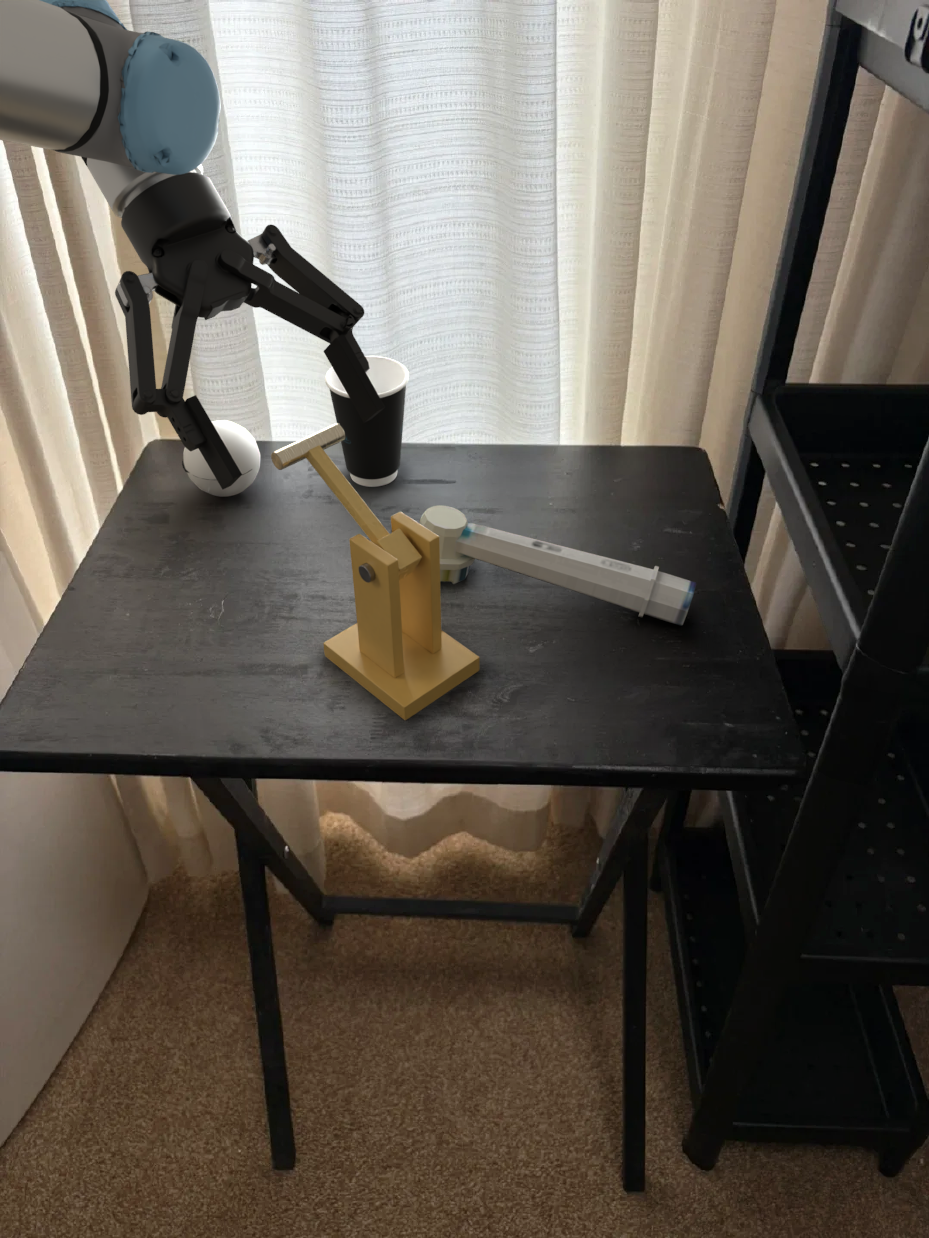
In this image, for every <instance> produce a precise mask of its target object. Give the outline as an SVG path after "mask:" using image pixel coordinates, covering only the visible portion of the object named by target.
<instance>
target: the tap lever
mask: <svg viewBox="0 0 929 1238" xmlns="http://www.w3.org/2000/svg"><path fill="white" fill-rule="evenodd" d="M344 439H345V432H344V430H343V428H342V427H341V426H340V425H339V424H337V422H336V423H333V424H330V425H329V426H326V427H324V428H322V429H320V430H318V431H316V432H313V433H312V434H309V435H307V436H305V437H303V438H300V439H298V440H296V441H294V442H292V443H290V444H288V445H284V446H283V447H280V448H278V449H276V450H274V451H273V452H271V454H270V459H271V462H272V464H273V466H274V467H275V468H276V469H277V470H279V471H282V470H285V469H286V468H289V467H291V466H293V465H295V464H296V463H299V462H302V461H303V460H305V459H306V460H307V461H308V462H309V464H310V465H311V466H312V468H313V469H314V470H315V471H316V473H317V474H318V476H320V478H321V479H322V480H323V482H324V483H325V484H326V485H327V487H328V488H329V489H330V490H331V492H332V493H333V495H334V496H335V497H336V499H338V501H339V502H340V503H341V504H342V506H343V507H344V508H345V510H346V511H347V513H348V514H349V515H350V516H351V518H352V519H353V520H354V521H355V523H356V524H357V525H358V526H359V527H360V529H361V530H362V532H363V533H364V534H365V535H366V537H367V539H368V540H370V541H371V542H372V543H374V544H375V545H377V546H378V547H380V548H381V549H383V550H384V551H386V552H387V553H389V554H390V555H392V556H393V557H394V558H396V559H397V560H398V568H399V580H401V579H402V578H404V577H406V576H408V575H409V574H411V573H413V571H414V570H415V568H416V566H417V565H418V563H419V561H420V560H421V558H422V556H421V555H420V554H419V552H418V551H417V550H416V549H415V547H414V546H413V545H412V544H411V542H410V541H409V540H408V539H407V537H406V536H405V535H404V533H403V532H402V531H401V530H400V529H398V530H396V531H394V532H392V531H391V533H389V531H388V530H387V529H386V527H385V526H384V525H383V524H382V522H381V521H380V520H379V518H378V517H377V516H376V515H375V514H374V513H373V511H372V510H371V509H370V507H369V506H368V505H367V503H366V502H365V501H364V499H363V498H362V497H361V496H360V494H359V493H358V492H357V491H356V489H355V488H354V487H353V485H352V484H351V483H350V482H349V480H348V479H347V478H346V477H345V475H344V474H343V472H342V471H341V470H340V469H339V468H338V467H337V465H336V464H335V463H334V461H333V460H332V459H331V458H330V455H328V454H327V453H326V451H325V450H326V449H329V448H331V447H333V446H335V445H337V444H339V443H341V441H343V440H344Z"/></svg>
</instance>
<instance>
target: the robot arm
mask: <svg viewBox="0 0 929 1238" xmlns="http://www.w3.org/2000/svg"><path fill="white" fill-rule="evenodd" d="M221 112H222V104H221V94H220V89H219V86H218V82H217V78H216V76H215V73H214V71H213V69H212V67H211V65H210V64H209V62H208V60H207V59H206V58H205V57H204V55H203V54H202V53H201V52H199V51H198V49H197V48H195V47H194V46H192V45H191V44H189V43H187V42H185V41H181V40H178V39H173V38H170V37H169V38H168V37H164V36H163V35H161V34H159V33H157V32H155V31H144V32H138V31H134V30H129V29H127V27H126V26H125V25H124V23H122V21H121V20H120V19H119V17H118V15H117V14H116V12H115V11H114V9H113V8H112V7H111V5H110V4H109V2H108V1H107V0H0V141H4V142H8V143H14V144H19V145H24V146H30V147H34V148H40V149H44V150H45V149H46V150H49V151H54V152H57V153H61V154H65V155H71V156H75V157H80V158H81V159H82V161H83V163H84V164H85V166H86V168H87V169H88V171H89V173H90V174H91V176H92V178H93V180H94V182H95V183H96V185H97V186H98V188H99V190H100V191H101V194H102V195H103V197H104V199H105V200H106V202H107V204H108V206H109V207H110V209H111V211H112V212H113V215H114V216H115V217H117V218H119V219H121V221H120V224H121V225H120V226H121V228H122V230H123V231H124V233H125V235H126V237H127V238H128V240H129V242H130V244H131V245H132V247H133V249H134V250H135V252H136V255H138V256H137V257H139V259H140V261H141V263H143V264H144V265H145V267H146V269H147V270H148V271H147V272H148V273H143V274H139V275H138V274H137V273H135V272H134V271H132V270H126V271H124V272H123V273H122V275H121V276H120V279H119V281H118V283H117V286H116V288H115V291H114V295H115V298H116V300H117V302H118V305H119V307H120V310H121V311H122V313H123V315H124V318H125V319H124V320H125V333H126V346H127V360H128V375H129V387H130V399H131V408H132V410H133V412H134V413H135V414H137V415H138V416H139V415H140V416H142V415H146V414H148V413H156V414H157V415H158V416H159V417H161V418H165V419H166V418H167V420H168V421H169V422H170V425H171V426H172V428H173V430H174V431H175V433H176V435H177V437H178V438H179V439H180V441H181V444H182V445H183V446H184V448H185V447H186V448H187V449H188V450H189V451H190V452H191V451H193V450H195V449H199V450H200V452H201V454H202V455H203V457H204V459H205V460H206V462H207V464H208V466H209V467H210V469H211V471H212V472H213V474H214V476H215V478H216V479H217V481H218V483H219V484H220V486H221V488H222V490H223V489H225V488H227V487H230V486H231V485H232V484H233V483H234V482H235V481H236V480H237V479H238V478H239V477H240V476H241V475H242V473H241V472H240V470H239V468H238V466H237V465H236V463H235V461H234V460H233V458H232V456H231V454H230V453H229V451H228V449H227V448H226V446H225V444H224V442H223V441H222V439H221V437H220V436H219V434H218V432H217V430H216V429H215V427H214V425H213V424H212V422H211V421H212V420H211V418H210V417H209V414H208V413H207V412H206V410H205V408H204V406H203V405H202V403H201V401H200V400H199V398H198V396H197V394H195V395H193V396H190V397H188V398H186V400H185V399H184V395H185V394H184V393H185V388H186V383H187V377H188V372H189V367H190V366H189V364H190V360H191V354H192V350H193V349H192V348H193V344H194V343H193V342H194V340H195V339H194V338H195V332H196V327H197V321H198V318H204V320H205V321H207V320H210V319H212V318H213V319H214V318H215V317H216V316H217V315H218V314H221V312H231V311H235V310H236V309H239V308H241V306H242V305H243V304H246V305H248V306H250V307H252V308H255V309H256V308H259V309H263V310H265V311H267V312H269V313H271V314H272V315H275V316H276V317H278V318H280V319H282V320H284V321H286V322H288V323H289V324H292V325H294V326H296V327H297V328H300V329H301V330H303V331H305V332H307V333H309V334H311V335H312V336H314V337H317V338H318V339H320V340H322V341H324V342H327V343H328V344H329V345H327V346H326V348H325V349H324V350H323V353H324V355H325V356H326V359H327V360H328V362H329V364H330V366H331V367H333V369H334V371H335V373H336V374H337V376H338V378H339V380H340V381H341V383H342V385H343V387H344V388H345V390H346V392H347V394H348V395H349V397H350V399H351V401H352V402H353V404H354V406H355V408H356V410H357V411H358V413H359V415H360V417H361V418H362V420H363V422H366V421H369V420H371V419H372V418H373V417H374V416H376V415H377V414H378V413H379V412H380V411H381V410H383V409H384V408H385V406H384V404H383V403H382V401H381V399H380V397H379V395H378V394H377V392H376V390H375V388H374V387H373V385H372V383H371V381H370V379H369V378H368V376H367V374H366V372H367V371H368V370H369V369H370V368H369V363H368V361H367V359H366V357H365V356H366V355H365V353H364V352H363V351H362V348H361V345H359V343H358V341H357V339H356V338H355V336H354V333H353V329H354V327H355V326H356V324H358V322H359V321H361V319H362V318H363V317H364V316H365V309H364V307H363V306H362V304H360V302H359V303H358V301H356V300H355V299H354V298H353V297H351V296H350V295H349V294H348V293H347V292H345V291H344V290H343V289H342V288H341V287H339V286H338V285H337V284H336V283H335V282H334V281H332V280H331V279H330V278H329V277H327V276H326V275H325V274H324V273H323V272H322V271H320V270H319V269H318V268H317V267H315V266H314V264H312V263H311V262H310V261H308V259H306V258H305V257H304V256H302V255H301V254H300V253H298V251H297V250H296V249H294V248H293V247H292V246H291V245H290V243H289V242H288V240H287V239H286V238H285V236H284V235H283V233H282V231H280V229H279V227H277V226H276V225H274V224H268V225H266V226H265V228H264V229H263V231H262V232H261V233H260V234H258V235H256V236H254V237H252V238H250V239H248V240H247V239H246V238H244V237H243V236H242V235H241V234H240V233H239V232H238V231H237V229H236V226H235V224H234V221H233V218H232V215H231V213H230V211H229V210H228V208H227V206H226V204H225V202H224V201H223V199H222V197H221V195H220V194H219V192H218V190H217V189H216V187H215V185H214V183H213V181H212V180H211V178H210V177H209V176H207V175H205V174H203V173H204V167H203V165H202V164H203V163H204V161H206V160H207V158H208V157H209V155H210V154H211V152H212V150H213V149H214V146H215V144H216V141H217V138H218V136H219V131H220V130H219V123H220V115H221ZM255 259H256V260H258V262H259V264H260V265H262V266H266V265H267V267H268V268H269V269H270V270H271V271H272V273H274V274H275V275H276V276H277V277H279V278H280V279H281V280H282V281H283V282H285V283H286V284H287V285H288V286H289V287H288V286H286V285H284V284H283V283H281V282H279V281H277V280H276V278H275V276H274V275H273V274H272V273H271V272H268V271H266V270H265V269H263V268H261V267H259V266H257V265H255V264H254V260H255ZM252 284H253V285H254V286H256V287H253V286H252ZM153 292H155V293H156V294H157V295H158V296H159V297H162V298H163V299H165V300H167V301H169V302H170V303H172V304H174V311H173V316H172V323H171V334H170V338H169V343H168V350H167V354H166V360H165V365H164V371H163V377H162V382H161V387H160V388H157V381H156V371H155V370H156V369H155V368H156V367H155V355H154V344H153V343H154V342H153V330H152V318H151V308H150V304H151V302H152V300H153V298H154V295H153V294H154V293H153Z"/></svg>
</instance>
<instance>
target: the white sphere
mask: <svg viewBox="0 0 929 1238" xmlns="http://www.w3.org/2000/svg"><path fill="white" fill-rule="evenodd" d="M211 422H212V424H213V425H214V427H215V429H216V430H217V432H218V434H219V436H220V437H221V439H222V441H223V442H224V444H225V446H226V448H227V449H228V451H229V453H230V454H231V456H232V458H233V460H234V461H235V463H236V465H237V466H238V468H239V470H240V472H241V473H242V475H241V476H240V477H239V478H238V479H237V480H236V481H235V482H234V483H233V484H232V485H231V486H230V487H227V488H225V489H223V490H222V488H221V486H220V484H219V483H218V481H217V479H216V478H215V476H214V474H213V472H212V471H211V469H210V467H209V466H208V464H207V462H206V460H205V459H204V457H203V455H202V454H201V452H200V450H199V449H195V450H193V451H191V452H190V451H189V450H188V449H187V448H186V447H185V446H184V449H183V453H182V455H183V456H182V461H181V467H182V469H183V471H184V472H185V473H186V474H187V476H188V479H189V480H190V481H191V482H192V483H193V484H194V485H195V486H196V487H197V488H198V489H199V490H200V491H202V492H205V493H207V494H209V495H211V496H214V497H215V496H216V497H225V498H226V497H232V496H236V495H238V494H240V493H242V492H244V491H245V490H246V489H248V488H249V487H250V486H252V484H253V483H254V481H255V480H256V479H257V476H258V474H259V471H260V467H261V452H260V449H259V446H258V443H257V440H256V439H255V437H254V436H253V435H252V434H251V433H250V431H249V430H247V428H245V427H244V426H242V425H240V424H238V423H236V422H234V421H232V420H227V419H220V420H219V419H216V420H211Z"/></svg>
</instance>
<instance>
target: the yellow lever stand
mask: <svg viewBox="0 0 929 1238" xmlns="http://www.w3.org/2000/svg"><path fill="white" fill-rule="evenodd" d="M390 525H391V526H390V527H391V529H390V530H391V533H392V532H394V531H396V530H398V529H400V530H401V531H402V532H403V533H404V535H405V536H406V537H407V539H408V540H409V541H410V542H411V544H412V545H413V546H414V547H415V549H416V550H417V551H418V552H419V554H420V555H421V556H422V558H421V560H420V561H419V563H418V565H417V566H416V568H415V570H414V571H413V573H411V574H409V575H408V576H406V577H404V578H402V579H401V580H399V568H398V560H397V559H396V558H394V557H393V556H392V555H390V554H389V553H387V552H386V551H384V550H383V549H381V548H380V547H378V546H377V545H375V544H374V543H372V542H371V540H370V539H369V538H368V537H366V536H364V535H362V534H361V533H357V534H356V535H353V536H352V537H350V538H349V539H348V541H349V552H350V561H351V562H350V563H351V573H352V583H353V594H354V595H353V596H354V604H355V615H356V623H354V624H353V625H351V626H349V627H347V628H346V629H344V630H342V631H341V632H339V633H338V634H336V635H334V636H333V637H331V638H329V639H327V640H326V641H324V642H322V643H323V652H324V657H325V658H327V659H328V660H329V661H330V662H332V663H333V664H334V665H335V666H337V667H338V668H339V669H340V670H341V671H342V672H344V673H345V674H347V675H348V676H349V677H350V678H351V679H352V680H354V681H355V682H357V684H359V685H360V686H361V687H362V688H363V689H364V690H366V691H367V692H369V694H371V695H373V696H374V697H375V698H376V699H377V700H379V701H380V702H381V703H383V704H384V705H385V706H386V707H388V708H389V709H390V711H393V713H395V714H396V715H398V716H399V717H400V718H401V719H402V720H404V721H407V720H409V719H410V718H412V717H413V716H414V715H416V714H417V713H419V712H421V711H422V710H423V709H425V708H426V707H428V706H429V705H430V704H432V703H434V702H435V701H437V700H438V699H439V698H441V697H442V696H444V695H445V694H447V693H449V692H450V691H452V690H453V689H454V688H456V687H457V686H459V685H460V684H462V683H463V682H465V681H466V680H468V679H469V678H471V677H472V676H473V675H475V674H476V673H478V672H479V671H480V668H481V667H480V662H481V661H480V659H481V658H480V656H479V655H477V654H476V653H475V652H473V651H472V650H470V649H469V648H468V647H466V646H465V645H463V644H462V643H460V642H459V641H458V640H456V639H455V638H454V637H452V636H451V635H449V634H448V633H447V632H445V631H444V630H442V597H441V596H442V595H441V592H442V591H441V581H440V546H439V536H438V535H436V534H435V533H433V532H432V531H430V530H428V529H427V528H425V527H424V526H422V525H421V524H419V522H418V521H417V520H414V518H412V517H410V516H408V515H407V514H405V513H403V512H402V511H398V512H396V513H395V514H392V515H391V516H390Z"/></svg>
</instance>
